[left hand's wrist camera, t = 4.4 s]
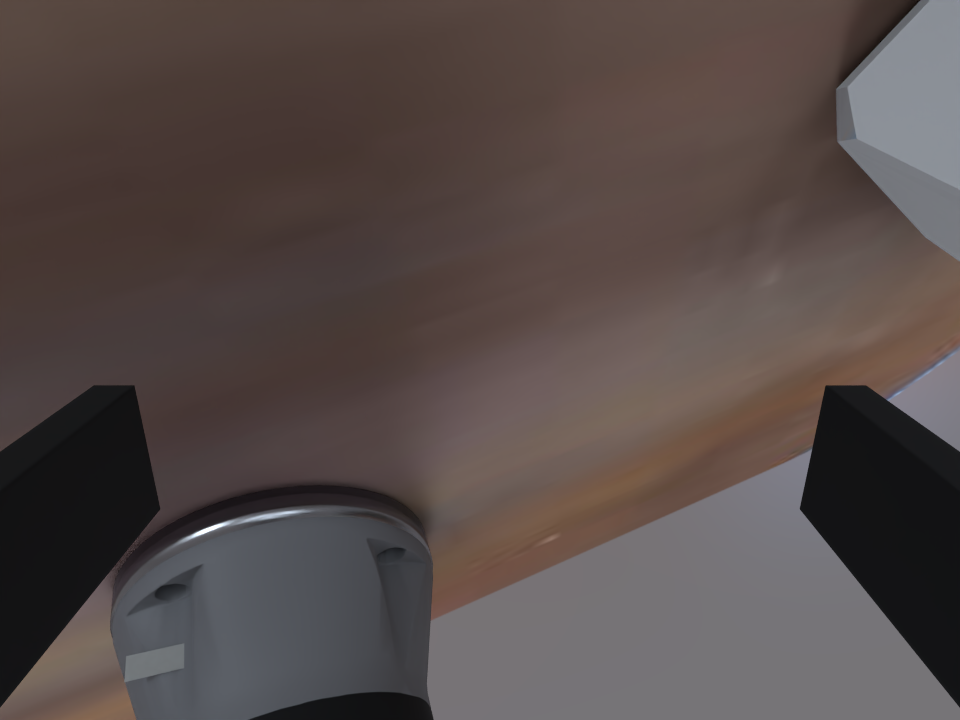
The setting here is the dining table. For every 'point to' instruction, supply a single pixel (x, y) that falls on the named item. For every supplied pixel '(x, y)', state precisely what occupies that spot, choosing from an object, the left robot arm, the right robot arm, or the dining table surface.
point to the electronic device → (911, 119)
